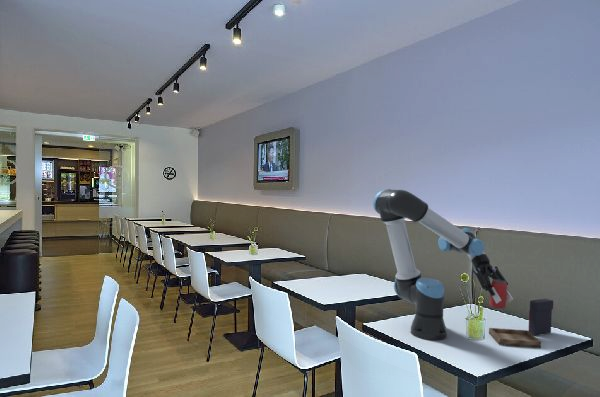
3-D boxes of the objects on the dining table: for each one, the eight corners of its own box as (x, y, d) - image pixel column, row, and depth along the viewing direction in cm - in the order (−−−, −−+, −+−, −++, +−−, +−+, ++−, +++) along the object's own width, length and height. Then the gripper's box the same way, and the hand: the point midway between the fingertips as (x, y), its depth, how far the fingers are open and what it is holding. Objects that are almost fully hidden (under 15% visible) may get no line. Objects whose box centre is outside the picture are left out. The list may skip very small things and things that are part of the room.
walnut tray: (499, 344, 171) (499, 338, 170) (488, 333, 184) (489, 327, 184) (540, 348, 168) (541, 342, 168) (527, 336, 182) (527, 330, 182)
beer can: (508, 309, 184) (510, 282, 183) (493, 308, 184) (495, 282, 183) (500, 304, 191) (502, 279, 190) (486, 304, 190) (488, 278, 190)
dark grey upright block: (543, 330, 190) (544, 297, 190) (552, 333, 186) (553, 300, 186) (527, 333, 185) (528, 300, 185) (536, 336, 182) (537, 302, 181)
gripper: (488, 261, 204) (514, 303, 190) (458, 262, 196) (483, 307, 182) (498, 252, 199) (526, 295, 185) (467, 253, 191) (494, 298, 177)
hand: (504, 301), depth 184 cm, fingers closed on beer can, 6 cm apart
